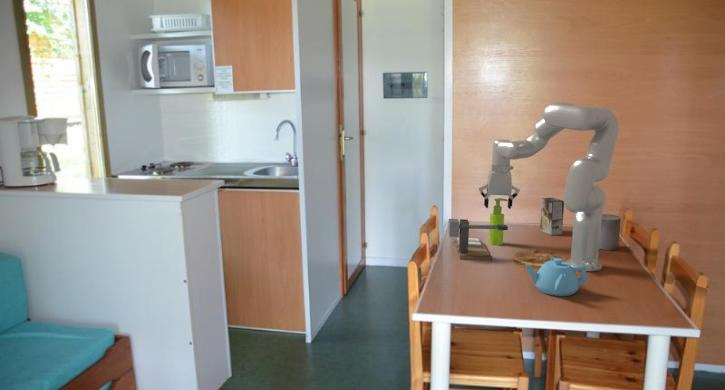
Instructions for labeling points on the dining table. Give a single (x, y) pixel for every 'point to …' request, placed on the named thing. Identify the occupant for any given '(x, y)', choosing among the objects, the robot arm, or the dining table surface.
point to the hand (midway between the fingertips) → (497, 207)
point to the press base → (469, 244)
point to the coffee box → (552, 216)
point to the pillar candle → (609, 232)
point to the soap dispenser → (496, 219)
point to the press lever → (454, 227)
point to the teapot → (558, 277)
